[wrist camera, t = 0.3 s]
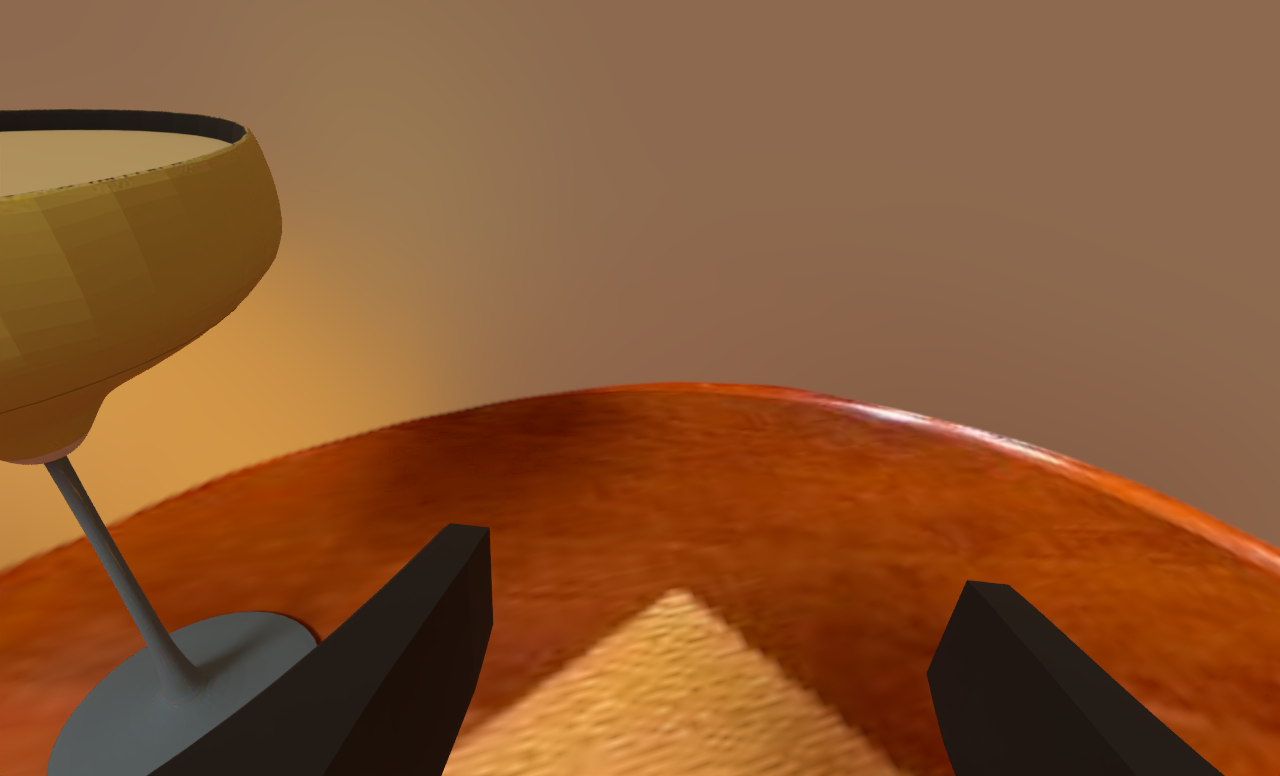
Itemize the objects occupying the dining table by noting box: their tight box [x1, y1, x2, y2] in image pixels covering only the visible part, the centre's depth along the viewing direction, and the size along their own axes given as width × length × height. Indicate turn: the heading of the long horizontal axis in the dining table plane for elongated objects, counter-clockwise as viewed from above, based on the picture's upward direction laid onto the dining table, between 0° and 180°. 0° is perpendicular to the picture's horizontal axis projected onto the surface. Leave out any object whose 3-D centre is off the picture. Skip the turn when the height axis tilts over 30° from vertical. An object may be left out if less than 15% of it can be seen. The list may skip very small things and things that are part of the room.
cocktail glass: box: [0, 109, 318, 776], centre depth 23 cm, size 18×18×25 cm
